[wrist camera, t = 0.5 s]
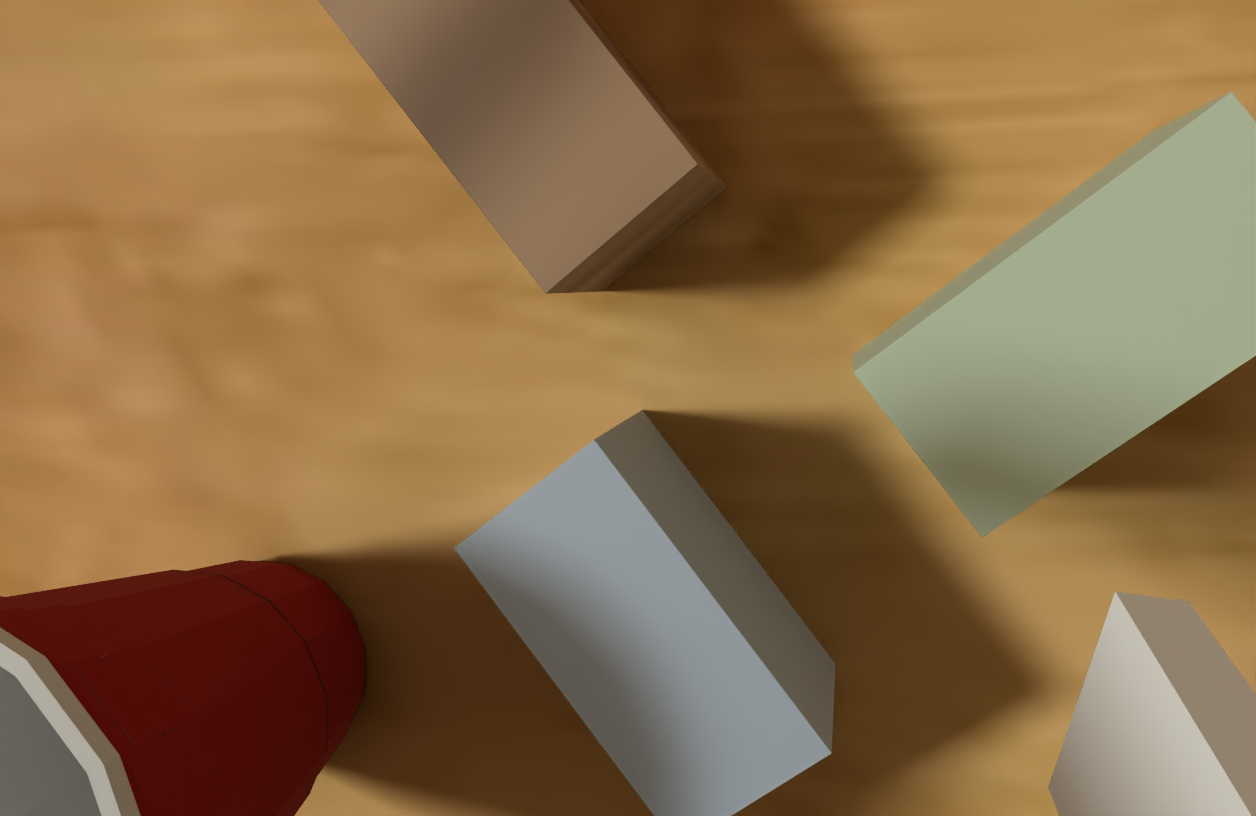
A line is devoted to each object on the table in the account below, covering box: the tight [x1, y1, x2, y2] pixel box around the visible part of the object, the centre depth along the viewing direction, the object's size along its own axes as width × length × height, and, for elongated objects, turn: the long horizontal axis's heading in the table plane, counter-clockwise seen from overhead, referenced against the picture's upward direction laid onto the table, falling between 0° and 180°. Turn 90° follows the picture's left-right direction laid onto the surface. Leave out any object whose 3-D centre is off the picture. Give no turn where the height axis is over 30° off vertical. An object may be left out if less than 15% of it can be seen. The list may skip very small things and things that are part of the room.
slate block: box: [454, 410, 836, 816], centre depth 23 cm, size 8×4×5 cm, turn 38°
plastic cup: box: [0, 560, 366, 816], centre depth 23 cm, size 11×11×12 cm
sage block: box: [853, 92, 1256, 537], centre depth 21 cm, size 8×4×5 cm, turn 129°
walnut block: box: [318, 0, 727, 293], centre depth 22 cm, size 8×4×5 cm, turn 39°
